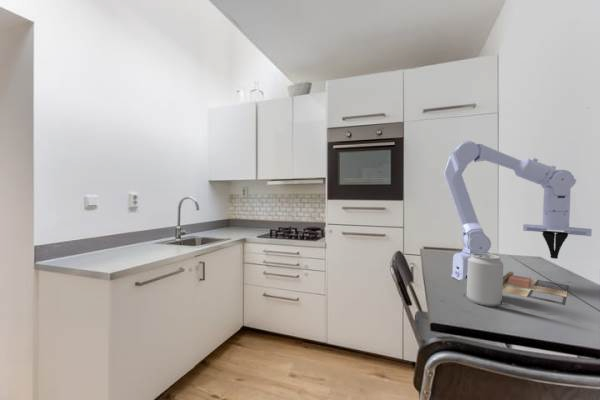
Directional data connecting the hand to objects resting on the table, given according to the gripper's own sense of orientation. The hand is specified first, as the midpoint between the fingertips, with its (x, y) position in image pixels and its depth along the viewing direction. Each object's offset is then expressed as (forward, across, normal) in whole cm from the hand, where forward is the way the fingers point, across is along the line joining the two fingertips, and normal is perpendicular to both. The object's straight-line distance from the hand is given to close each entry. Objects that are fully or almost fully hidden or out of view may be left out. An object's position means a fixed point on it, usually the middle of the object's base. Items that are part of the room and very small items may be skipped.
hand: (554, 257), depth 81 cm
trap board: (+9, -4, -8) cm, 13 cm away
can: (+10, -11, -27) cm, 31 cm away
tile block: (+8, -7, -8) cm, 13 cm away
